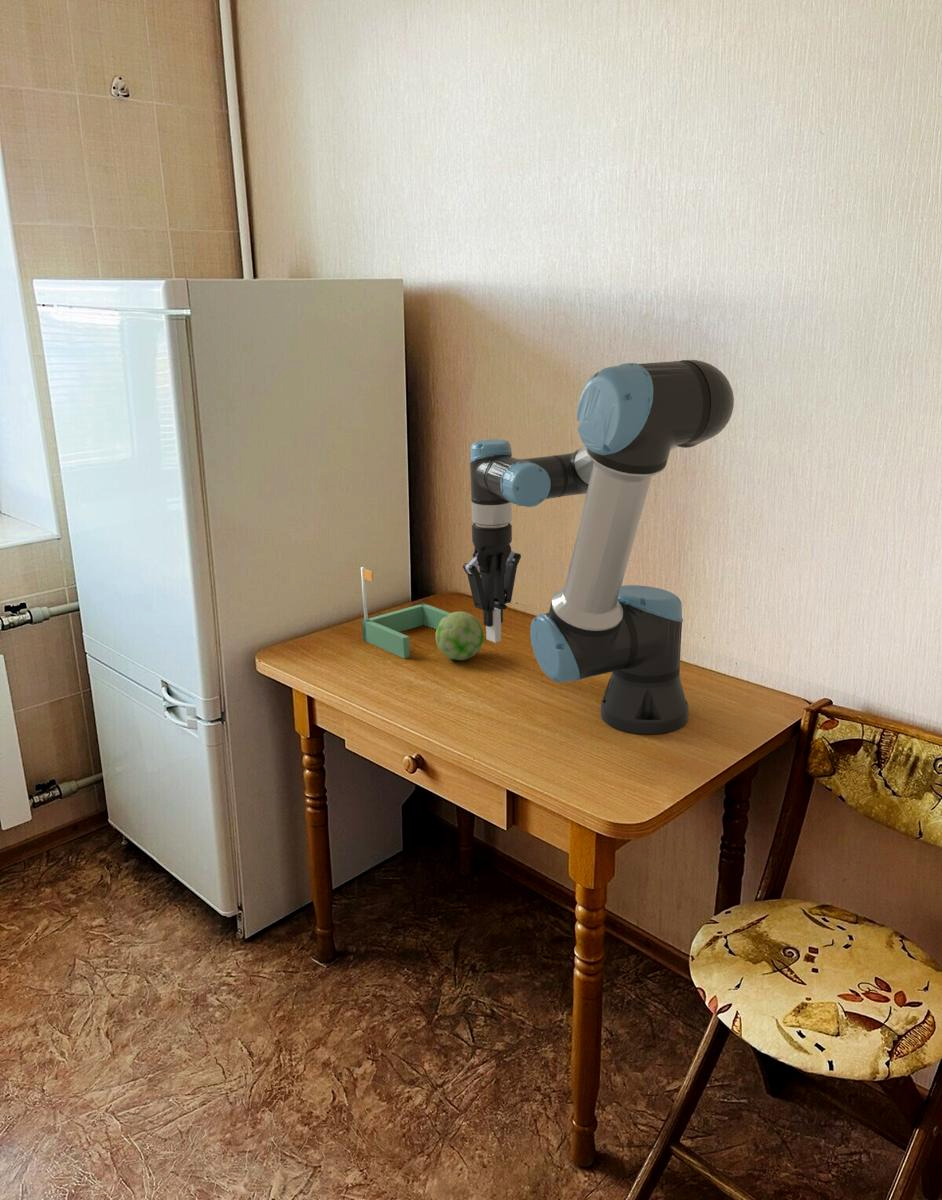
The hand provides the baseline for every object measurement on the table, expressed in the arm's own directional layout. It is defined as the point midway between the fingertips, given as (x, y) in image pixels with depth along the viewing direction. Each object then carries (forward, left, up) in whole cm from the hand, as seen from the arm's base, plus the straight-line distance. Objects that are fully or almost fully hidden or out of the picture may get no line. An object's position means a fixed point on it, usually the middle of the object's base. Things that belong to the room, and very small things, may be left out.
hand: (493, 639), depth 187 cm
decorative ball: (+11, 0, -7) cm, 13 cm away
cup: (+26, 0, -7) cm, 27 cm away
